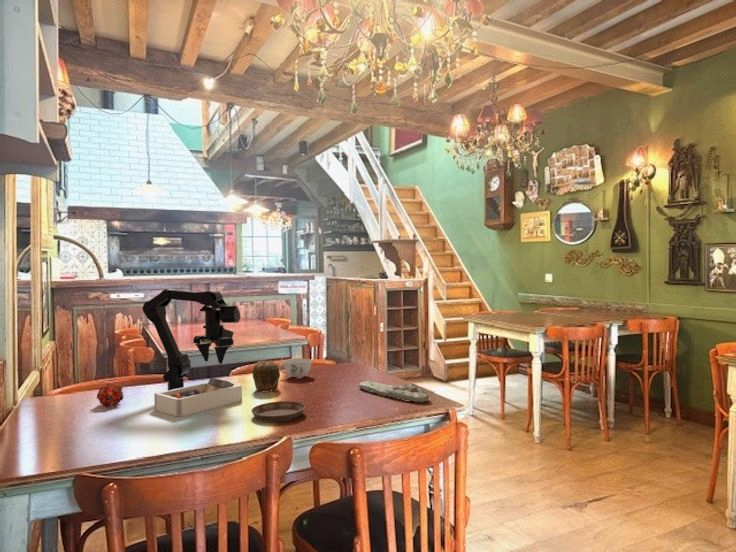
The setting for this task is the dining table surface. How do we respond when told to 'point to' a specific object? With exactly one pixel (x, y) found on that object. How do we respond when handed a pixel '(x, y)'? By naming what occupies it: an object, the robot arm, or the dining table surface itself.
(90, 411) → the dining table surface
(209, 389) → the trapdoor
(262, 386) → the brown ridged rounded piece
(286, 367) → the teacup
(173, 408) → the frame
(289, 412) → the plant saucer
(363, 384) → the long grey stone
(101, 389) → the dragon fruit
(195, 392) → the supplement bottle
